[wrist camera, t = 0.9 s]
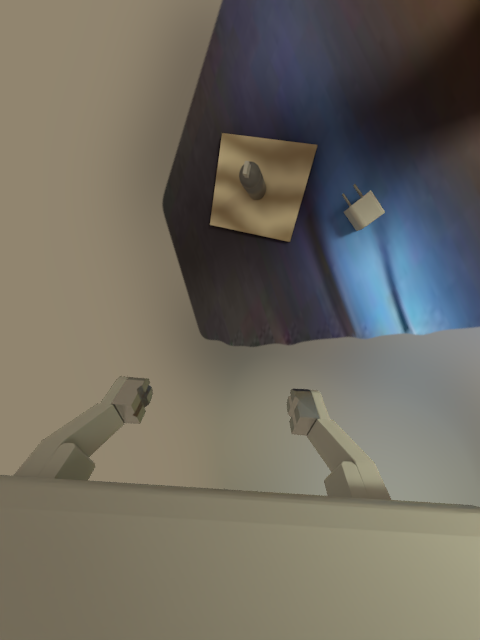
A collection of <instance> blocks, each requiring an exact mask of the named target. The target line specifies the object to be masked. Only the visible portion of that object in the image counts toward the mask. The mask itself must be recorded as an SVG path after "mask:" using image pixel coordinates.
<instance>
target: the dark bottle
mask: <svg viewBox="0 0 480 640" xmlns="http://www.w3.org/2000/svg"><path fill="white" fill-rule="evenodd" d="M239 179H240V182H241V184H242V186H243V187H244V189H245V190H246V191H247V193H248V194H249V196H250V197H251V198H252V199H254V200H259V199H261V198H262V197H263V196H264V195H265V193H266V184H265V181H264V179H263V176H262V173H261V170H260V168H259V166H258V165H257V164H256V163H255V162H251V161H245V163H244V164H243V166H242V167H241V169H240V172H239Z"/></svg>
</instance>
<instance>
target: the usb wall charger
mask: <svg viewBox="0 0 480 640" xmlns="http://www.w3.org/2000/svg"><path fill="white" fill-rule="evenodd" d="M353 186H354V188H355V189H356V191H357V193H358V194H359V196H360V197H361V198H360V199H359V200H358V201H357V202H355V203H354V204H353V205H351V204H350V202H349V200H348V199H347V197H346V196H345V195H344V193H343V194H342V196H343V197H344V199H345V201H346V202H347V204H348V205H349V208H348V209H347V210H346V211H344V213H345V215H346V216H347V218H348V219H349V221H350V222H351V224H352V225H353V227H354V228H355V230H356V231H358V230H361V229H363V228H364V227H366V226H367V225H368V224H370V223H371V222H373V221H374V220H375V219H377V218H378V217H379V216H381V215H382V214H384V213H385V211H384V210H383V208H382V207H381V205H380V203H379V202H378V200H377V199H376V197H375V196H374V194H373V193H372V191H369V192H368V193H367V194H366V195H364V196H363V195H362V193H361V192H360V190H359V189H358V187H357V186H356V184H354V185H353Z"/></svg>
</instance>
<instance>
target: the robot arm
mask: <svg viewBox="0 0 480 640" xmlns="http://www.w3.org/2000/svg"><path fill="white" fill-rule="evenodd" d="M149 383H150V381H149V379H145V378H133V377H121V376H120V377H119V378H118V379H117V380H116V381H115V383H114V384H113V386H112V387H111V388H110V390H109V391H108V393H107V394H106V396H105V397H104V399H103V400H102V401H101V403H100V404H96V405H94V406H93V407H91V408H90V409H88V410H87V411H85V412H84V413H82V414H81V415H79V416H78V417H76V418H75V419H73V420H72V421H70V422H69V423H67V424H66V425H64V426H63V427H62V428H60V429H58V430H57V431H55V432H54V433H52V434H51V435H50V436H48V437H46V438H45V439H43V440H42V441H41V443H40V444H39V445H38V446H37V447H36V449H35V450H34V451H33V452H32V453H31V455H30V456H29V457H28V459H27V460H26V461H25V462H24V463H23V464H22V466H21V467H20V468H19V469H18V471H17V472H16V473H15V474H14V475H13V476H8V475H0V640H480V507H477V506H472V505H460V504H445V503H430V502H429V503H428V502H414V501H398V500H391V498H390V496H389V493H388V491H387V489H386V487H385V485H384V483H383V480H382V479H381V476H380V474H379V472H378V470H377V467H376V465H375V463H374V462H373V461H372V460H371V459H370V458H369V457H368V456H367V455H366V454H365V453H364V451H362V449H361V448H360V447H359V446H358V445H357V444H356V443H355V442H354V441H353V440H352V439H351V438H350V437H349V436H348V435H347V434H346V433H345V432H344V431H343V430H342V429H341V428H340V427H339V426H338V425H337V424H336V423H335V421H334V420H330V418H329V415H328V412H327V410H326V407H325V404H324V401H323V398H322V396H321V393H320V392H319V391H318V390H307V389H292V390H291V392H290V394H291V396H289V397H288V400H287V411H288V414H289V415H290V417H291V419H290V421H289V422H290V428H291V433H292V434H297V435H307V437H308V439H309V440H310V442H311V443H312V444H313V446H314V447H315V448H316V450H317V452H318V453H319V454H320V456H321V457H322V459H323V460H324V462H325V463H326V464H327V466H328V467H329V469H330V470H331V472H332V473H331V474H330V475H329V476H328V477H327V478H326V479H325V480H324V483H325V487H326V491H327V495H328V496H320V495H303V494H289V493H273V492H258V491H242V490H227V489H210V488H195V487H180V486H164V485H148V484H133V483H132V484H131V483H117V482H102V481H88V479H89V477H90V475H91V474H92V472H93V470H94V468H95V463H94V462H93V461H92V460H91V459H90V458H89V457H90V456H91V455H92V454H93V453H94V452H95V451H96V450H97V449H98V448H99V447H100V446H101V445H102V444H103V443H105V442H106V441H107V440H108V439H109V438H110V437H111V436H112V435H113V434H114V433H115V432H116V431H117V430H118V429H119V428H120V427H122V426H123V425H124V423H134V424H140V423H141V420H142V418H143V416H144V414H145V412H146V411H145V407H146V406H147V405H148V404H149V403H150V401H151V398H152V387H151V386H149Z"/></svg>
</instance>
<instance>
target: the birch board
mask: <svg viewBox="0 0 480 640" xmlns="http://www.w3.org/2000/svg"><path fill="white" fill-rule="evenodd" d="M316 149H317V145H314V144H306V143H298V142H290V141H282V140H274V139H266V138H258V137H250V136H242V135H234V134H226V133H222V138H221V145H220V153H219V160H218V168H217V175H216V183H215V190H214V198H213V205H212V213H211V220H210V225H213V226H217V227H222V228H226V229H231V230H236V231H240V232H245V233H250V234H254V235H259V236H264V237H268V238H273V239H278V240H282V241H287V242H290V240H291V236H292V233H293V229H294V226H295V222H296V219H297V215H298V212H299V208H300V205H301V201H302V198H303V194H304V191H305V187H306V184H307V180H308V177H309V173H310V170H311V166H312V163H313V159H314V156H315V152H316ZM245 161H251V162H255V163H256V164H257V165H258V166H259V168H260V170H261V173H262V176H263V179H264V181H265V184H266V193H265V195H264V196H263V197H262V198H261V199H259V200H254V199H252V198H251V197H250V196H249V194H248V193H247V191H246V190H245V189H244V187H243V186H242V184H241V182H240V179H239V172H240V169H241V167H242V166H243V164H244V163H245Z"/></svg>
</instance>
